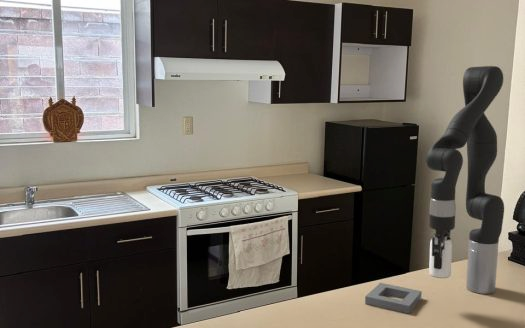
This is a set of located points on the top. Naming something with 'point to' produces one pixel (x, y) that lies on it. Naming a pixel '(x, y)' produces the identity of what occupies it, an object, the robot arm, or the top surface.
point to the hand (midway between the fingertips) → (440, 264)
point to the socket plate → (383, 289)
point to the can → (446, 261)
